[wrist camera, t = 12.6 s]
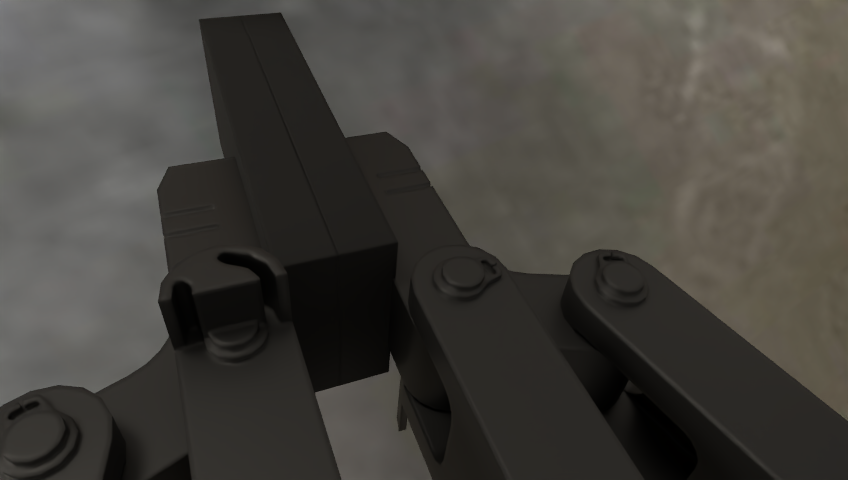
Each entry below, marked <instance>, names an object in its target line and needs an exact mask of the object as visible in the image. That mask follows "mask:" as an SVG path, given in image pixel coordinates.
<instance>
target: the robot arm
mask: <svg viewBox="0 0 848 480" xmlns="http://www.w3.org/2000/svg"><path fill="white" fill-rule="evenodd" d="M199 23H200V29H201V35H202V40H203V46H204V52H205V58H206V63H207V69H208V75H209V81H210V86H211V92H212V98H213V103H214V109H215V115H216V121H217V126H218V132H219V138H220V143H221V147H222V151H223V154H224V159H218V160H211V161H205V162H198V163H191V164H185V165H178V166H172V167H168V169H167V171H166V173H165V175H164V177H163V179H162V181H161V183H160V185H159V187H158V189H157V193H158V200H159V208H160V214H161V222H162V229H163V235H164V243H165V250H166V258H167V265H168V272H169V273H168V274H167V276H166V277H165V278H164V280H163V281H162V283H161V287H160V293H159V299H158V303H159V306H160V309H161V312H162V315H163V318H164V321H165V324H166V327H167V330H168V333H169V338H168V340H167V341H166V343H165V344H164V345H163V347H162V348H161V350H160V351H159V352H158V353H157V354H156V355H155V356H154V357H153V358H152V359H151V360H150V361H149V362H148V363H147V364H146V365H144V366H142V367H141V368H139V369H138V370H136V371H135V372H133V373H132V374H130V375H128V376H127V377H125V378H123V379H121V380H119V381H117V382H115V383H113V384H112V385H110V386H108V387H106V388H104V389H102V390H100V391H98V392H97V393H95V394H94V393H92V392H90V391H88V390H87V389H85V388H83V387H72V386H61V385H57V386H52V387H48V388H43V389H38V390H34V391H30V392H28V393H26V394H24V395H22V396H20V397H18V398H16V399H14V400H12V401H10V402H8V403H6V404H4V405H3V406H1V407H0V480H341V477H340V474H339V470H338V467H337V464H336V461H335V457H334V454H333V451H332V448H331V444H330V441H329V438H328V435H327V432H326V428H325V425H324V422H323V419H322V415H321V412H320V409H319V406H318V402H317V399H316V396H315V392H318V391H322V390H325V389H329V388H332V387H336V386H340V385H343V384H347V383H350V382H354V381H357V380H361V379H364V378H368V377H371V376H375V375H378V374H382V373H385V372H389V360H390V352H391V354H392V356H393V359H394V361H395V363H396V366H397V368H398V371H399V373H400V375H401V380H400V390H399V400H398V410H397V422H398V428H399V431H402V430H405V429H406V425H407V418H408V420H409V423H410V425H411V428H412V430H413V433H414V435H415V438H416V440H417V442H418V445H419V447H420V450H421V452H422V455H423V457H424V460H425V462H426V464H427V467H428V469H429V472H430V474H431V477H432V479H433V480H848V421H847V420H846V419H844V418H843V417H842V416H841V415H839V414H838V413H837V412H836V411H834V410H833V409H832V408H831V407H829V406H828V405H827V404H825V403H824V402H823V401H822V400H820V399H819V398H818V397H817V396H815V395H814V394H813V393H812V392H810V391H809V390H808V389H807V388H805V387H804V386H803V385H802V384H800V383H799V382H798V381H797V380H795V379H794V378H793V377H792V376H790V375H789V374H788V373H786V372H785V371H784V370H783V369H781V368H780V367H779V366H778V365H776V364H775V363H774V362H773V361H771V360H770V359H769V358H768V357H766V356H765V355H764V354H763V353H761V352H760V351H759V350H758V349H756V348H755V347H754V346H753V345H751V344H750V343H749V342H747V341H746V340H745V339H744V338H742V337H741V336H740V335H739V334H737V333H736V332H735V331H734V330H732V329H731V328H730V327H729V326H727V325H726V324H725V323H724V322H722V321H721V320H720V319H719V318H717V317H716V316H715V315H714V314H712V313H711V312H710V311H708V310H707V309H706V308H705V307H703V306H702V305H701V304H700V303H698V302H697V301H696V300H695V299H693V298H692V297H691V296H690V295H688V294H687V293H686V292H685V291H683V290H682V289H681V288H680V287H678V286H677V285H676V284H675V283H673V282H672V281H671V280H669V279H668V278H667V277H666V276H664V275H663V274H662V273H661V272H659V271H658V270H657V269H656V268H654V267H653V266H652V265H650V264H648V263H647V262H645V261H643V260H642V259H640V258H638V257H637V256H635V255H631V254H628V253H625V252H622V251H618V250H601V249H599V250H595V251H592V252H588V253H585V254H583V255H582V256H581V257H580V258H578V259H577V260H576V261H575V262H574V263H573V266H572V269H571V271H570V274H569V275H553V274H527V273H519V272H512V271H509V270H507V268H506V267H505V266H504V265H503V264H502V263H501V262H500V261H499V260H498V259H497V258H496V257H495V256H493V255H491V254H489V253H487V252H485V251H484V250H482V249H480V248H476V247H471V246H470V245H469V244H468V243H467V241H466V239H465V238H464V236H463V235H462V233H461V231H460V230H459V228H458V227H457V225H456V223H455V222H454V220H453V218H452V217H451V215H450V214H449V212H448V210H447V209H446V207H445V206H444V204H443V202H442V201H441V199H440V198H439V196H438V194H437V193H436V191H435V189H434V188H433V186H430V181H429V180H428V178H427V177H426V175H425V173H424V172H423V170H421V169H420V165H419V164H418V162H417V160H416V159H415V157H414V156H413V154H412V152H411V151H410V149H409V148H408V147H407V146H406V145H405V144H403V143H402V142H400V141H399V140H397V139H396V138H394V137H393V136H392V135H390V134H389V133H387V132H381V133H375V134H368V135H361V136H355V137H348V138H345V137H344V135H343V133H342V131H341V129H340V127H339V125H338V123H337V121H336V120H335V118H334V116H333V114H332V112H331V110H330V108H329V106H328V104H327V102H326V100H325V98H324V96H323V94H322V92H321V90H320V88H319V86H318V84H317V82H316V80H315V78H314V77H313V75H312V73H311V71H310V69H309V67H308V65H307V63H306V61H305V59H304V57H303V55H302V53H301V51H300V49H299V47H298V45H297V43H296V41H295V39H294V37H293V35H292V33H291V32H290V30H289V28H288V26H287V24H286V22H285V20H284V18H283V16H282V14H281V13H270V14H258V15H245V16H233V17H221V18H209V19H199Z"/></svg>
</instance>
